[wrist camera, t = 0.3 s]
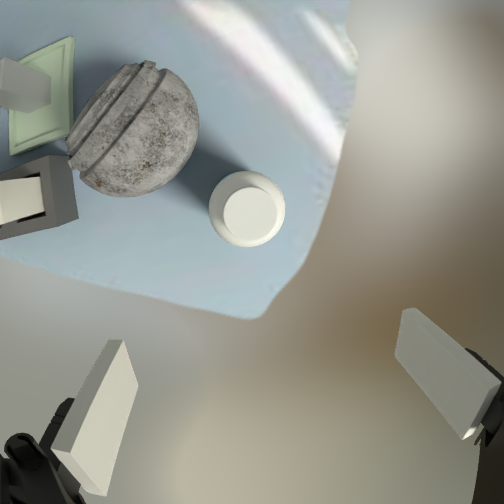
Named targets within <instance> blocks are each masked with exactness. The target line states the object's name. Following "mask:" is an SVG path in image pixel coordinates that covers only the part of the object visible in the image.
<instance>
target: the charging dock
mask: <svg viewBox="0 0 504 504" xmlns="http://www.w3.org/2000/svg"><path fill="white" fill-rule="evenodd" d="M67 159H68V156H57V155H47V156H45V157H42V158H39V159H36V160H33V161H31V162H28V163H25V164H23V165H20V166H18V167H15V168H13V169H10V170H8V171H5V172H3V173H1V174H0V240H3V239H7V238H11V237H15V236H19V235H23V234H27V233H31V232H35V231H40V230H44V229H49V228H53V227H58V226H60V225H63V224H66V223H68V222H71V221H73V220H76V219H79V217H78V211H77V205H76V199H75V192H74V185H73V177H72V170H71V168H70V167H69V165H68V163H67Z"/></svg>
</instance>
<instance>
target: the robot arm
mask: <svg viewBox="0 0 504 504" xmlns="http://www.w3.org/2000/svg"><path fill="white" fill-rule="evenodd" d="M394 356H395V357H396V359H397V360H398V361H399V362H400V363H401V365H402V366H403V367H404V368H405V369H406V371H407V372H408V373H409V374H410V375H411V377H412V378H413V379H414V380H415V382H416V383H417V384H418V385H419V386H420V388H421V389H422V390H423V391H424V393H425V394H426V395H427V396H428V398H429V399H430V400H431V401H432V402H433V404H434V405H435V406H436V407H437V409H438V410H439V411H440V413H441V414H442V415H443V416H444V417H445V419H446V420H447V421H448V423H449V424H450V425H451V427H452V428H453V429H454V430H455V432H456V433H457V434H458V435H459V437H460V438H461V439H462V440H463V439H465V438H466V437H468V436H470V435H472V434H473V433H475V431H476V430H477V428H478V426H479V425H480V423H482V425H483V426H484V428H483V430H482V431H481V433H480V434H479V436H478V438H477V439H476V441H475V444H474V445H477V443H478V442H479V440H480V439H481V443H480V455H479V464H478V471H477V478H476V484H475V490H474V495H473V500H472V504H504V377H503V376H502V375H501V374H500V373H499V372H498V371H496V370H495V369H494V368H493V367H492V366H491V365H488V363H487V362H486V361H485V360H483V358H482V357H480V356H479V355H478V354H477V353H476V352H474V351H472V350H470V349H467V348H465V349H464V348H462V346H460V345H459V344H458V343H457V342H456V341H455V340H453V339H452V338H451V337H450V336H449V335H447V334H446V333H445V332H444V331H443V330H442V329H440V328H439V327H438V326H437V325H436V324H434V323H433V322H432V321H431V320H429V319H428V318H427V317H426V316H424V315H423V314H422V313H421V312H420V311H418V310H417V309H416V308H410V309H406V310H403V311H402V318H401V324H400V329H399V334H398V340H397V344H396V350H395V354H394ZM137 389H138V383H137V380H136V377H135V374H134V371H133V369H132V366H131V362H130V360H129V356H128V353H127V350H126V347H125V343H124V340H108V342H107V344H106V345H105V347H104V349H103V350H102V352H101V354H100V355H99V357H98V359H97V361H96V362H95V364H94V366H93V368H92V369H91V371H90V373H89V375H88V376H87V378H86V380H85V382H84V384H83V385H82V387H81V389H80V391H79V393H78V395H77V396H76V398H75V399H74V398H67V399H66V400H65V401H64V402H63V403H61V404H60V405H59V407H58V409H57V411H56V413H55V416H53V418H52V420H51V423H50V424H49V426H48V427H47V429H46V431H45V433H44V435H43V437H42V439H41V441H40V443H39V445H38V444H37V442H36V441H35V439H34V438H33V437H32V436H31V435H29V434H26V433H17V434H15V435H13V436H11V437H10V438H9V439H8V440H7V442H6V444H5V447H4V452H5V453H6V454H7V455H8V457H9V458H10V459H8V458H3V457H2V455H1V454H0V504H86V503H85V501H84V499H83V497H82V496H81V494H80V493H79V488H80V485H81V486H82V487H83V488H84V489H85V490H86V491H87V492H88V493H92V494H97V495H102V496H106V494H107V490H108V487H109V483H110V479H111V475H112V472H113V468H114V464H115V461H116V457H117V454H118V450H119V446H120V443H121V440H122V436H123V433H124V429H125V426H126V423H127V420H128V417H129V414H130V410H131V407H132V404H133V401H134V398H135V395H136V392H137Z"/></svg>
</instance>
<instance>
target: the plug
mask: <svg viewBox="0 0 504 504" xmlns="http://www.w3.org/2000/svg"><path fill="white" fill-rule="evenodd" d="M50 104H51V77H49V76H47V75H45V74H43V73H41V72H39V71H36V70H34V69H32V68H30V67H28V66H25V65H23V64H21V63H19V62H16V61H14V60H12V59H9V58H7V57H4V58H2V59H0V108H5V109H10V110H14V111H19V112H24V113H28V114H29V113H31V112H33V111H35V110H38V109H40V108H42V107H45V106H47V105H50Z"/></svg>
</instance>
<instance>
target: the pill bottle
mask: <svg viewBox="0 0 504 504" xmlns="http://www.w3.org/2000/svg"><path fill="white" fill-rule="evenodd" d="M284 216H285V202H284V198H283V195H282V192H281V191H280V189H279V187H278V186H277V185H276V183H275V182H273V181H272V180H271V179H270V178H269V177H267V176H265V175H263V174H261V173H258V172H253V171H239V172H234V173H231V174H228V175H226V176H225V177H223V178H222V179H221V180H220V181H219V182H218V183H217V185H216V186H215V188H214V190H213V193H212V195H211V198H210V201H209V217H210V221H211V224H212V226H213V228H214V230H215V231H216V232H217V234H218V235H219V236H220V237H221V238H222V239H224V240H225V241H227V242H228V243H230V244H233V245H236V246H240V247H254V246H257V245H260V244H263V243H265V242H267V241H268V240H270V239H271V238H272V237H273V236H274V235H275V234H276V233H277V232H278V230H279V229H280V227H281V225H282V223H283V220H284Z"/></svg>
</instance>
